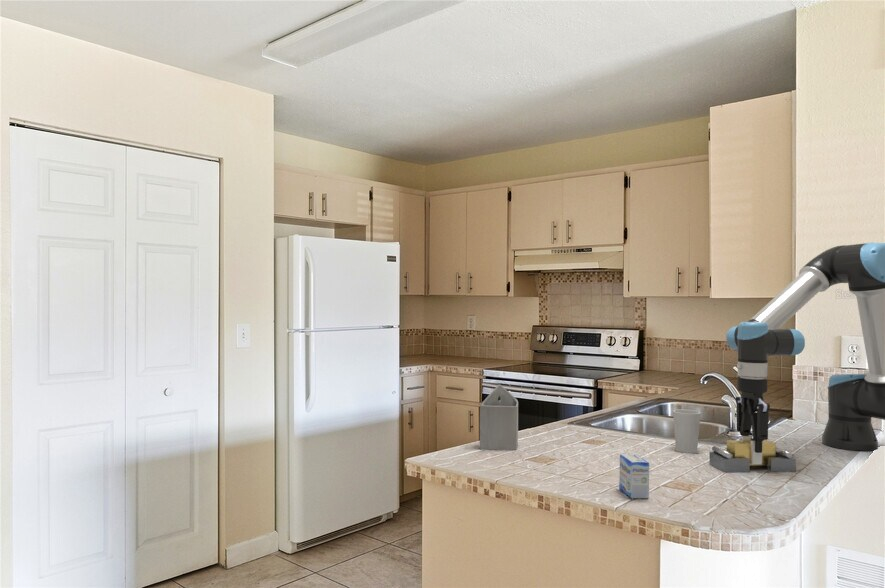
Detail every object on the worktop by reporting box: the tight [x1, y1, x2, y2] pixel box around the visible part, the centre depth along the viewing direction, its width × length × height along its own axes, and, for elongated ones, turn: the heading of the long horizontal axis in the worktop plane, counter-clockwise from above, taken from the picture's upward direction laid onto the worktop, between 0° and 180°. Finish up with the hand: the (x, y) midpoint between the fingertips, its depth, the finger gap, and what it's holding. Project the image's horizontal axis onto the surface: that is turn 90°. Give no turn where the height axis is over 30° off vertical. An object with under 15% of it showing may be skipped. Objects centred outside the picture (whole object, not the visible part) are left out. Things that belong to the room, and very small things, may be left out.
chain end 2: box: [767, 446, 797, 473], centre depth 176 cm, size 7×8×5 cm
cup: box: [672, 408, 701, 454], centre depth 195 cm, size 8×8×12 cm
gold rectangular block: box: [726, 439, 777, 466], centre depth 175 cm, size 12×4×6 cm, turn 97°
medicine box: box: [618, 453, 650, 499], centre depth 151 cm, size 8×4×9 cm, turn 5°
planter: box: [479, 384, 519, 451], centre depth 197 cm, size 16×8×19 cm, turn 129°
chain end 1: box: [708, 445, 751, 473], centre depth 175 cm, size 7×8×5 cm
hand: (751, 461), depth 175 cm, fingers closed on gold rectangular block, 4 cm apart
